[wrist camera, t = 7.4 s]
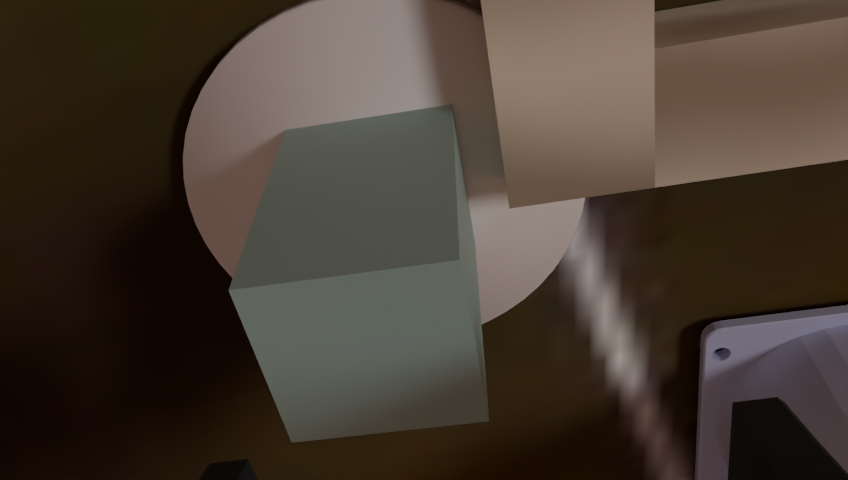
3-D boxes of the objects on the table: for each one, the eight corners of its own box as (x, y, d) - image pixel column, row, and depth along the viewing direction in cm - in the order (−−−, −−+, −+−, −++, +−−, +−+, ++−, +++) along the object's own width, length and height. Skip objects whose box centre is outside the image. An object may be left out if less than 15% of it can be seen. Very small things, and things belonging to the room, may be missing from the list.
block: (475, 243, 20) (489, 421, 15) (326, 263, 20) (291, 442, 15) (452, 104, 17) (460, 260, 12) (285, 130, 18) (228, 290, 13)
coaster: (592, 304, 22) (596, 318, 21) (258, 347, 23) (255, 362, 22) (569, -53, 16) (573, -45, 15) (124, 28, 17) (115, 38, 16)
